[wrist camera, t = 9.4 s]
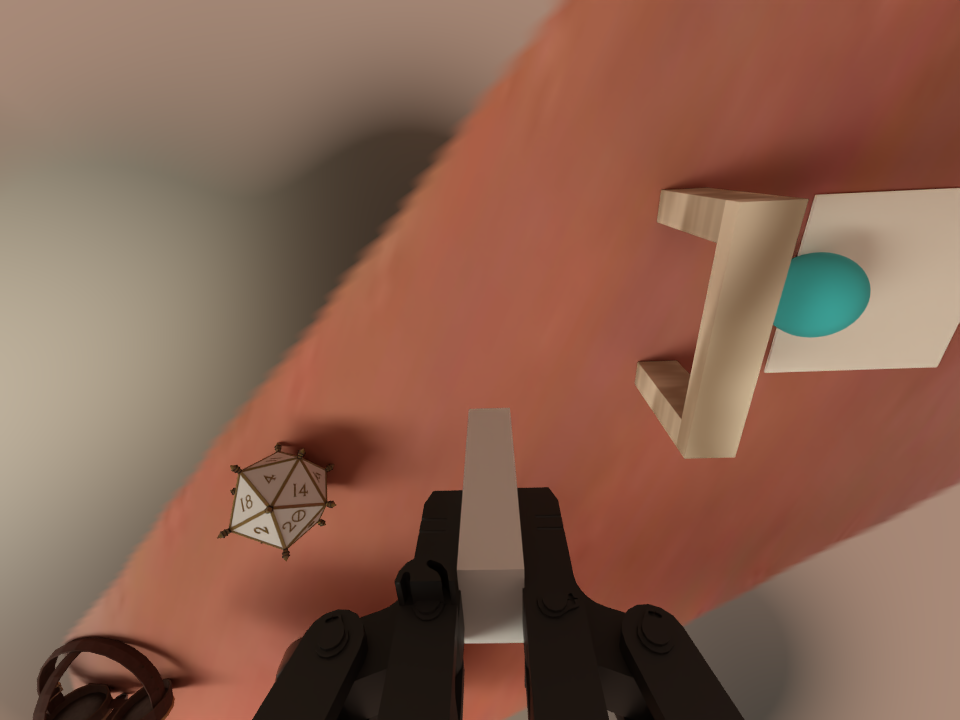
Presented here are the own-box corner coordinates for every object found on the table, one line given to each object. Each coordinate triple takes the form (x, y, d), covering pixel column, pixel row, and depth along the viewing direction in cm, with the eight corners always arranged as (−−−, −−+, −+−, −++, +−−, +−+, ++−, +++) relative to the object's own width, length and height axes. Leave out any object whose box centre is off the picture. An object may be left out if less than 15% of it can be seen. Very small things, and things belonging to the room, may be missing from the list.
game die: (314, 423, 40) (297, 425, 30) (358, 499, 40) (355, 525, 30) (221, 475, 37) (170, 495, 27) (268, 555, 37) (234, 604, 28)
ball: (738, 334, 29) (781, 315, 31) (830, 358, 24) (873, 334, 27) (751, 256, 27) (797, 242, 29) (856, 266, 22) (900, 249, 24)
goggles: (89, 699, 56) (1, 791, 46) (54, 620, 53) (-47, 700, 43) (193, 692, 54) (126, 785, 45) (163, 611, 52) (84, 691, 42)
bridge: (708, 187, 26) (808, 198, 18) (672, 382, 33) (735, 457, 24) (661, 189, 27) (739, 202, 18) (634, 384, 33) (684, 458, 25)
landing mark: (934, 365, 32) (937, 367, 32) (763, 371, 32) (765, 372, 32) (1024, 184, 26) (1027, 184, 26) (815, 194, 26) (817, 195, 26)
